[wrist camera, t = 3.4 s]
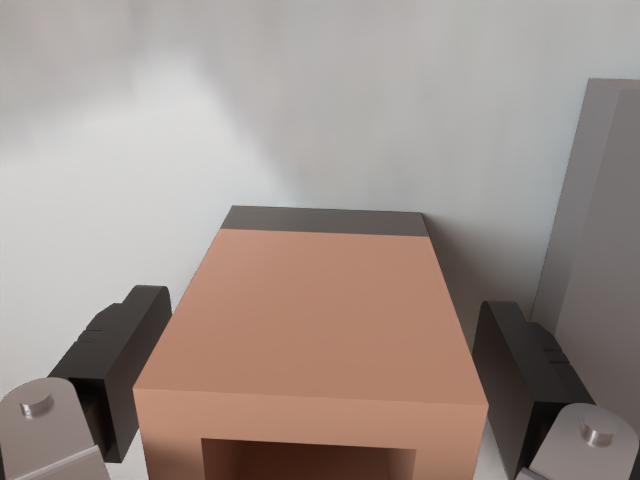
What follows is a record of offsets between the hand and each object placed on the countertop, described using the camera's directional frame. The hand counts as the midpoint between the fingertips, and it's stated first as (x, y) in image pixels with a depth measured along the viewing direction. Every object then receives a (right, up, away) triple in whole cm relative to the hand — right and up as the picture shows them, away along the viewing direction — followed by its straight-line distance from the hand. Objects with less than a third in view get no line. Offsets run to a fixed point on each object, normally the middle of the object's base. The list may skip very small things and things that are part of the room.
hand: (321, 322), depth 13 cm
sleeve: (0, +1, +1) cm, 2 cm away
